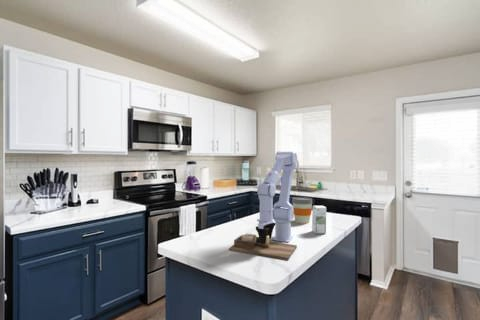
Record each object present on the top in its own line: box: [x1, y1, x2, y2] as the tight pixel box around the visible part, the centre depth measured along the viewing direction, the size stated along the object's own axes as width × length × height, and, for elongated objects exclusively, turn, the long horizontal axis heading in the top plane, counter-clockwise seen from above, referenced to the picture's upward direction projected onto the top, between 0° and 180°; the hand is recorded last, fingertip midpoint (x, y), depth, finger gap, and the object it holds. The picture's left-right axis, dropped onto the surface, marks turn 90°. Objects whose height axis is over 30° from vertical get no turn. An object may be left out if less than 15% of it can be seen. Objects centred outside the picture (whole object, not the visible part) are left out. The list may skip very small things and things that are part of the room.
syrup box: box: [311, 205, 327, 235], centre depth 141 cm, size 6×6×14 cm
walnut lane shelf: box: [229, 234, 298, 261], centre depth 115 cm, size 16×26×4 cm, turn 66°
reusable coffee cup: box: [291, 196, 313, 224], centre depth 165 cm, size 13×13×15 cm
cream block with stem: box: [242, 232, 270, 248], centre depth 117 cm, size 5×12×5 cm, turn 66°
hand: (265, 241), depth 115 cm, fingers open, 7 cm apart
